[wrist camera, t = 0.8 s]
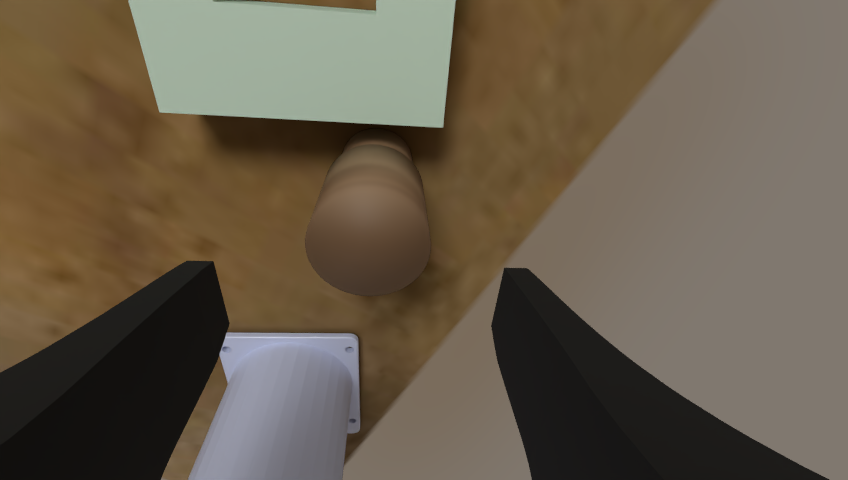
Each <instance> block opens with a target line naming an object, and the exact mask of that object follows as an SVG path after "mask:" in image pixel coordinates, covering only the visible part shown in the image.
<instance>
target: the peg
mask: <svg viewBox="0 0 848 480" xmlns="http://www.w3.org/2000/svg"><path fill="white" fill-rule="evenodd" d="M305 248H306V253H307V256H308V259H309V261H310V263H311V265H312V267H313V268H314V270H315V271H316V272H317V273H318V275H319V276H320V277H321V278H322V279H324V280H325V281H326V282H327V283H329V284H330V285H332V286H333V287H335V288H337V289H339V290H342V291H344V292H347V293H351V294H355V295H361V296H379V295H385V294H390V293H393V292H396V291H398V290H400V289H402V288H404V287H406V286H408V285H409V284H411V283H412V282H413V281H414V280H416V279H417V277H418V276H419V275H420V274H421V273H422V271H423V270H424V269H425V267H426V265H427V263H428V260H429V257H430V252H431V239H430V232H429V225H428V218H427V211H426V205H425V198H424V191H423V184H422V179H421V176H420V174H419V171H418V170H417V168H416V166H415V165H414V164H413V161H412V155H411V152H410V149H409V147H408V146H407V144H406V143H405V141H404V140H403V139H402V138H401V137H400V136H398V135H397V134H395V133H393V132H391V131H389V130H386V129H381V128H371V129H366V130H363V131H360V132H358V133H357V134H355V135H354V136H353V137H351V139H350V140H349V141H348V142H347V144H346V145H345V147H344V150H343V153H342V154H341V155H340V156H339V157H338V158H337V159H336V160H335V161H334V162H333V164H332V165H331V167H330V169H329V171H328V173H327V176H326V178H325V181H324V184H323V187H322V189H321V192H320V195H319V198H318V200H317V203H316V206H315V209H314V211H313V214H312V217H311V220H310V222H309V225H308V228H307V231H306V237H305Z"/></svg>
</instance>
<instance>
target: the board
mask: <svg viewBox="0 0 848 480" xmlns="http://www.w3.org/2000/svg"><path fill="white" fill-rule="evenodd" d="M455 1H456V0H376V11H372V10H359V9H347V8H335V7H322V6H310V5H297V4H285V3H273V2H260V1H248V0H129V4H130V8H131V11H132V15H133V18H134V22H135V26H136V29H137V33H138V36H139V40H140V44H141V47H142V51H143V54H144V58H145V62H146V65H147V69H148V72H149V76H150V80H151V83H152V87H153V90H154V94H155V97H156V101H157V105H158V108H159V112H164V113H182V114H200V115H219V116H237V117H255V118H274V119H292V120H310V121H328V122H347V123H365V124H383V125H402V126H420V127H438V128H443V123H444V112H445V102H446V92H447V82H448V72H449V62H450V52H451V41H452V31H453V21H454V11H455Z"/></svg>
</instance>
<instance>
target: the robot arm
mask: <svg viewBox="0 0 848 480" xmlns="http://www.w3.org/2000/svg"><path fill="white" fill-rule="evenodd" d="M228 327H229V320H228V316H227V312H226V308H225V304H224V301H223V297H222V293H221V289H220V285H219V281H218V277H217V274H216V270H215V266H214V262H213V261H186V262H184V263H182V264H181V265H179V266H177V267H175V268H174V269H172V270H171V271H169V272H167V273H166V274H164V275H163V276H161V277H159V278H158V279H156V280H155V281H153V282H152V283H150V284H149V285H147V286H146V287H144V288H143V289H141V290H139V291H138V292H136V293H135V294H133V295H132V296H130V297H129V298H127V299H125V300H124V301H122V302H121V303H119V304H118V305H116V306H115V307H113V308H111V309H110V310H108V311H107V312H105V313H104V314H102V315H100V316H99V317H97V318H96V319H94V320H92V321H90V322H89V323H87V324H85V325H84V326H82V327H80V328H79V329H77V330H75V331H74V332H72V333H70V334H69V335H67V336H65V337H64V338H62V339H60V340H59V341H57V342H55V343H54V344H52V345H50V346H49V347H47V348H45V349H43V350H42V351H40V352H38V353H36V354H34V355H33V356H31V357H29V358H27V359H25V360H23V361H22V362H20V363H18V364H16V365H14V366H12V367H10V368H8V369H6V370H5V371H3V372H1V373H0V480H161V477H162V475H163V472H164V470H165V468H166V466H167V463H168V461H169V459H170V457H171V454H172V452H173V450H174V448H175V446H176V444H177V442H178V440H179V438H180V436H181V434H182V432H183V430H184V428H185V426H186V424H187V422H188V420H189V418H190V416H191V414H192V412H193V410H194V408H195V406H196V404H197V402H198V400H199V397H200V395H201V393H202V391H203V389H204V387H205V385H206V383H207V381H208V379H209V377H210V375H211V373H212V371H213V369H214V367H215V364H216V362H217V360H218V357H219V355H220V358H221V361H222V365H223V368H224V372H225V375H226V378H227V382H228V386H227V388H226V391H225V393H224V395H223V398H222V400H221V402H220V405H219V407H218V409H217V412H216V414H215V417H214V419H213V421H212V424H211V426H210V428H209V431H208V433H207V435H206V438H205V440H204V443H203V445H202V447H201V450H200V452H199V454H198V457H197V459H196V462H195V464H194V466H193V469H192V471H191V473H190V476H189V478H188V480H342V476H343V467H344V458H345V449H346V439H347V433H357V432H358V431H359V430H360V387H359V342H358V337H357V336H356V335H354V334H350V333H227V330H228ZM491 327H492V332H493V339H494V344H495V350H496V356H497V361H498V364H499V368H500V371H501V374H502V378H503V380H504V384H505V387H506V390H507V393H508V397H509V400H510V403H511V406H512V409H513V413H514V416H515V419H516V422H517V425H518V428H519V432H520V435H521V438H522V441H523V445H524V448H525V452H526V455H527V459H528V463H529V467H530V472H531V477H532V480H829V479H827V478H825V477H823V476H821V475H819V474H817V473H815V472H813V471H811V470H809V469H807V468H805V467H803V466H801V465H799V464H797V463H796V462H794V461H792V460H790V459H788V458H786V457H784V456H783V455H781V454H779V453H777V452H775V451H774V450H772V449H770V448H768V447H766V446H764V445H763V444H761V443H759V442H757V441H755V440H753V439H752V438H750V437H748V436H747V435H745V434H743V433H741V432H740V431H738V430H736V429H734V428H733V427H731V426H729V425H728V424H726V423H724V422H723V421H721V420H719V419H718V418H716V417H715V416H713V415H711V414H710V413H708V412H707V411H705V410H703V409H702V408H700V407H699V406H697V405H695V404H694V403H692V402H691V401H689V400H687V399H686V398H684V397H683V396H681V395H680V394H678V393H677V392H675V391H674V390H672V389H671V388H669V387H668V386H666V385H665V384H664V383H662V382H661V381H659V380H658V379H657V378H655V377H654V376H653V375H651V374H650V373H648V372H647V371H646V370H644V369H643V368H641V367H640V366H639V365H637V364H636V363H635V362H633V361H632V360H631V359H629V358H628V357H627V356H625V355H624V354H623V353H622V352H620V351H619V350H618V349H617V348H615V347H614V346H613V345H612V344H610V343H609V342H608V341H607V340H606V339H604V338H603V337H602V336H601V335H600V334H598V333H597V332H596V331H595V330H594V329H593V328H591V327H590V326H589V325H588V324H587V323H586V322H585V321H583V320H582V319H581V318H580V317H579V316H578V315H577V314H576V313H575V312H574V311H572V310H571V309H570V308H569V307H568V306H567V305H566V304H565V303H564V302H563V301H562V300H561V299H559V297H558V296H556V295H555V294H554V293H553V292H552V291H551V290H550V289H549V288H548V287H547V286H546V285H545V284H544V283H543V282H542V281H541V280H540V279H538V278H537V277H536V276H535V275H534V274H533V273H532V272H531V271H530V270H529V269H527V268H504V271H503V276H502V281H501V285H500V289H499V294H498V298H497V303H496V307H495V312H494V316H493V321H492V325H491ZM226 346H227V347H226ZM348 347H352V348H348Z"/></svg>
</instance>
